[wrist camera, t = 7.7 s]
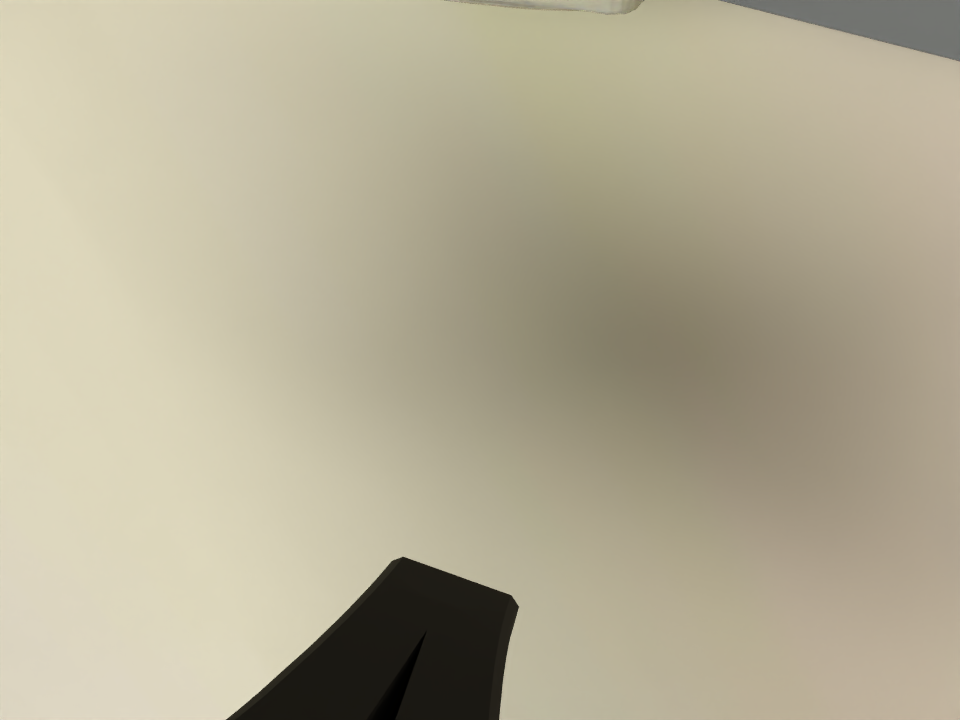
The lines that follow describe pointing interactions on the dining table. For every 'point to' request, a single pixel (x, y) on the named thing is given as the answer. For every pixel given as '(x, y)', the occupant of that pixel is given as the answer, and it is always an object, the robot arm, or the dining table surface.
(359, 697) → the robot arm
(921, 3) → the mat
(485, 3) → the skincare box
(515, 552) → the dining table surface
